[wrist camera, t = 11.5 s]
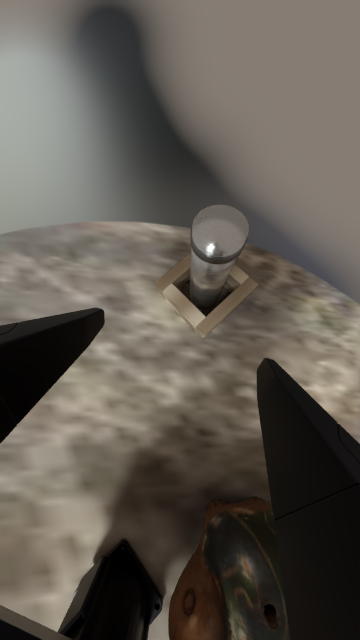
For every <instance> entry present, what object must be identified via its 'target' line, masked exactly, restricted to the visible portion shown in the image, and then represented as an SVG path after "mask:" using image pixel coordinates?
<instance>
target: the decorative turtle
mask: <svg viewBox="0 0 360 640" xmlns="http://www.w3.org/2000/svg"><path fill="white" fill-rule="evenodd" d="M274 521H275V520H274V517H273V510H272V507H271V506H270V505H268V504H267V503H266V502H265V501H263V500H262V499H260V498H258V497H251V498H249V499H247V500H245V501H243V502H237V503H224V502H223V501H221V500H219V499H218V500H217V499H214V500H211V501H210V503H209V505H208V507H207V512H206V517H205V522H204V526H203V531H202V536H201V540H200V543H199V546H198V548H197V550H196V551H195V553H194V554H193V555H192V557H191V558H190V560H189V562H188V563H187V565H186V567H185V568H184V570H183V572H182V574H181V576H180V578H179V580H178V583H177V585H176V588H175V591H174V593H173V595H172V597H171V601H170V607H169V638H170V640H291V637H290V632H289V626H288V619H287V611H286V604H285V597H284V590H283V583H282V575H281V568H280V561H279V554H278V547H277V539H276V532H275V525H274Z"/></svg>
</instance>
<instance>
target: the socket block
mask: <svg viewBox="0 0 360 640" xmlns="http://www.w3.org/2000/svg"><path fill="white" fill-rule="evenodd" d="M190 271H191V253H190V254H188V255H187V256H186V257H185V258H184V259H182V260H181V261H180V262H179V263H178V264H177V265H175V266H174V267H173V268H172V269H171V270H169V271H168V272H167V273H166V274H165V275H163V276H162V277H161V278H160V279H159V280H158V281H156V282H155V285H156V287H157V290H158V292H159V294H160V295H161V296H162V297H163V298H164V299H165V300H166V301H167V302H168V303H169V304H170V305H171V306H172V308H173V309H174V310H175V311H176V312H177V313H178V314H179V315H180V316H181V317H182V318H183V319H184V320H185V321H186V322H187V323H188V324H189V325H190V326H191V327H192V328H193V329H194V330H195V331H196V332H197V333H198V334H199V335H200V336H201V337H202V339H204V338H205V337H206V336H207V335H208V334H209V333H210V332H211V331H212V330H213V329H214V328H215V327H216V326H217V325H218V324H219V323H220V322H221V321H222V320H223V319H225V318H226V317H227V316H228V315H229V314H230V313H231V312H232V311H233V310H234V309H235V308H236V307H237V306H238V305H239V304H240V303H241V302H242V301H243V300H244V299H246V298H247V297H248V296H249V295H250V294H251V292H252V291H253V290H254V289H255V288H256V287H257V286H258V284H257V283H256V282H255V281H254V280H253V279H251V278H250V277H249V276H248V275H247V274H246V273H244V272H243V271H242V270H241V269H240V268H239V267H237V266H236V265H235V264H234V265H233V267H232V269H231V271H230V273H229V276H228V278H227V280H226V282H225V284H224V286H223V287H225V288H226V289H227V290H228V291H229V292H230V293H231V294H230V295H229V296H228V297H227V298H226V299H225V300H224V301H223V302H222V303H220V304H219V305H218V306H217V307H216V308H215V309H214V310H213V311H212V312H211V313H210V314H209V315H208V316H207V317H205V316H204V315H203V314H202V313H201V312H200V311H199V310H198V309H197V308H196V307H195V306H194V305H193V304H192V303H191V302H190V301H189V300H188V299H187V298H186V297H185V296H184V295H183V294H182V293H181V292H180V291H179V289H180V288H181V287H183V286H184V285H185V284H186V283H187V282H188V281H189V280H190Z"/></svg>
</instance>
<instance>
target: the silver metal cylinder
mask: <svg viewBox="0 0 360 640" xmlns="http://www.w3.org/2000/svg"><path fill="white" fill-rule="evenodd" d="M248 233H249V225H248V221H247V219H246V218H245V216H244V215H243V214H242V213H241V212H240V211H238V210H237V209H235V208H233V207H231V206H226V205H213V206H210V207H207V208H205V209H203V210H202V211H200V212H199V213H198V214H197V216H196V217H195V219H194V222H193V226H192V229H191V247H192V248H191V271H190V294H189V296H190V300H191V302H192V303H193V304H194V305H195V306H197V307H199V308H208V307H211V306H212V305H213V304H214V303H215V302H216V300H217V298H218V296H219V294H220V292H221V290H222V288H223V286H224V284H225V282H226V280H227V278H228V276H229V273H230V271H231V269H232V267H233V265H234V263H235V261H236V259H237V257H238V256H239V255H240V253H241V252H242V250H243V248H244V246H245V244H246V241H247V236H248Z"/></svg>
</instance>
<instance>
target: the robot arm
mask: <svg viewBox="0 0 360 640" xmlns="http://www.w3.org/2000/svg"><path fill="white" fill-rule="evenodd" d="M104 322H105V320H104V310H103V309H99V308H91V309H86V310H81V311H75V312H70V313H65V314H60V315H54V316H49V317H44V318H39V319H33V320H28V321H23V322H20V323H12V324H7V325H1V326H0V443H1V442H2V441H3V440H4V439H5V438H6V437H7V436H8V435H9V434H10V432H11V431H12V430H13V429H14V428H15V427H16V426H17V424H18V423H19V422H20V421H21V420H22V419H23V418H24V417H25V416H26V415H27V414H28V412H29V411H30V410H31V409H32V408H33V407H34V406H35V405H36V404H37V403H38V401H39V400H40V399H41V398H42V397H43V396H44V395H45V394H46V393H47V391H48V390H49V389H50V388H51V387H52V386H53V385H54V384H55V383H56V382H57V380H58V379H59V378H60V377H61V376H62V375H63V374H64V373H65V372H66V371H67V369H68V368H69V367H70V366H71V365H72V364H73V363H74V362H75V361H76V360H77V358H78V357H79V356H80V355H81V354H82V353H83V352H84V351H85V350H86V348H87V347H88V346H89V345H90V344H91V342H92V341H93V340H94V338H95V337H96V335H97V334H98V333H99V331H100V330H101V328H102V327H103V326H104ZM257 401H258V409H259V416H260V423H261V430H262V438H263V445H264V452H265V459H266V466H267V474H268V481H269V488H270V495H271V502H272V510H273V517H274V520H275V521H274V525H275V532H276V539H277V547H278V554H279V561H280V568H281V575H282V583H283V590H284V597H285V604H286V611H287V619H288V626H289V632H290V637H291V640H360V444H359V443H358V442H357V441H356V440H355V439H354V438H353V437H352V436H351V435H350V434H349V433H348V432H347V431H346V430H345V429H344V428H343V427H342V426H341V425H340V424H337V421H335V420H334V419H333V418H332V417H331V416H330V415H329V414H328V413H327V412H326V411H325V410H324V409H323V408H322V407H321V406H320V405H319V404H318V403H317V402H316V401H315V400H314V399H313V398H312V397H311V396H310V395H309V394H308V393H307V392H306V391H305V390H304V389H303V388H302V387H301V386H300V385H299V384H298V383H297V382H296V381H295V380H294V379H293V378H292V377H291V376H290V375H289V374H288V373H287V372H286V371H285V370H283V369H282V368H281V367H280V366H279V365H278V364H277V363H276V362H275V361H274V360H272V359H269V358H264V359H263V361H262V362H261V364H260V366H259V367H258V369H257ZM121 547H124V549H122V548H121ZM156 603H159V604H156ZM162 606H163V598H162V596H161V594H160V593H159V591H158V590H157V588H156V586H155V585H154V583H153V582H152V580H151V578H150V577H149V575H148V574H147V572H146V571H145V569H144V567H143V566H142V564H141V563H140V561H139V559H138V558H137V556H136V555H135V553H134V552H133V550H132V548H131V547H130V545H129V544H128V542H127V541H126V540H121V541H120V542H119V543H118V544H117V545H116V547H115V548H114V549H113V550H112V551H111V552H110V553H109V554H108V555H107V556H106V555H105V556H103V557H102V558H101V559H100V560H99V561H98V562H97V563H96V564H95V565H94V566H93V567H92V568H91V570H90V571H89V572H88V573H87V574H86V575H85V576H84V578H83V580H82V582H81V584H80V585H79V586H78V588H77V589H76V591H75V593H74V596H73V601H72V603H71V605H70V607H69V609H68V611H67V613H66V615H65V618H64V620H63V622H62V624H61V626H60V628H59V630H58V632H56V631H54V630H51V629H49V628H47V627H45V626H43V625H41V624H39V623H37V622H35V621H33V620H31V619H28V618H26V617H24V616H22V615H20V614H18V613H16V612H14V611H12V610H10V609H7V608H5V607H3V606H1V605H0V640H147V638H148V631H149V625H150V624H151V623H152V622H153V621H154V619H155V618H156V617H157V616H158V615H159V613H160V612H161V610H162Z"/></svg>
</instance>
